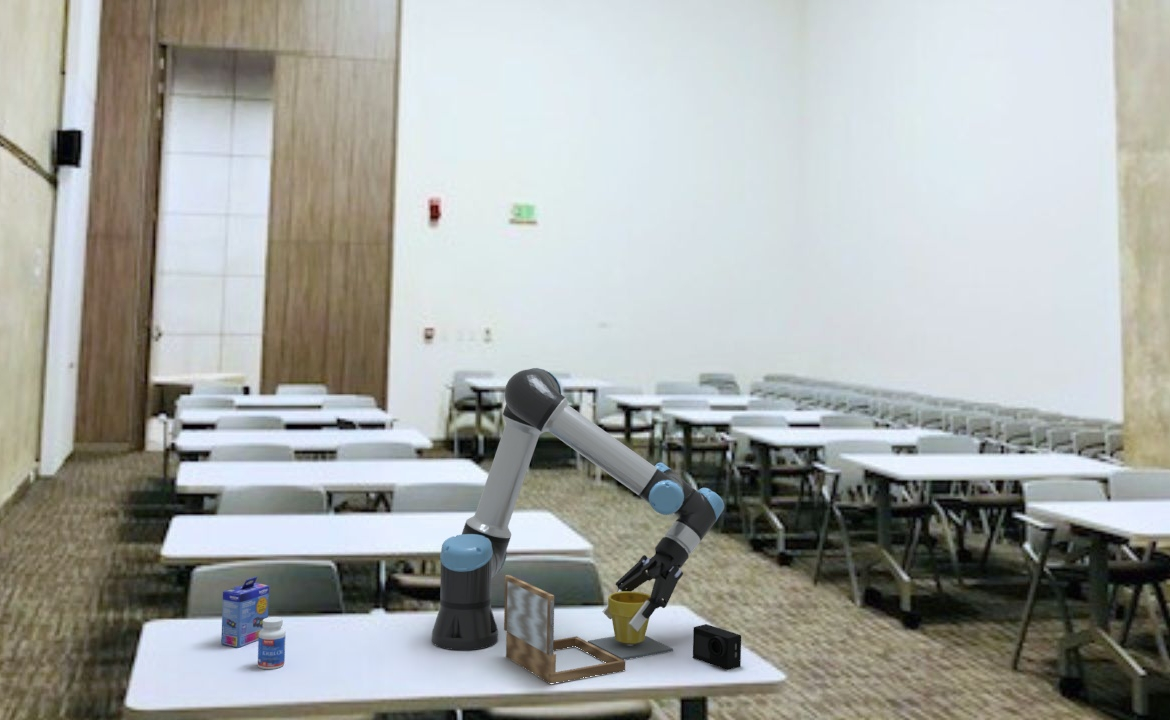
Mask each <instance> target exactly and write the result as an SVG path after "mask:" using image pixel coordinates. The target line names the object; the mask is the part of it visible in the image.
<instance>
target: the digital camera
mask: <svg viewBox="0 0 1170 720" xmlns="http://www.w3.org/2000/svg"><path fill="white" fill-rule="evenodd" d="M692 628H693V633H692V634H693V635H692V639H693V640H692V642H693V643H692V658H693V659H695V660H698V661H700V662H704V663H706V664H709V665H712V666H714V667H716V668H720V669H722V670H725V671H730V670H733V669H736V668H740V667H741V664H742V663H741V662H742V660H741V659H742V655H741V654H742V635H741V634H738V633H736V632H732V631H729V630H726V629H723V628H719V627H717V626H713V625H710V624H707V623H705V624H701V625H697V626H693V627H692Z"/></svg>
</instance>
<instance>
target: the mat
mask: <svg viewBox="0 0 1170 720" xmlns="http://www.w3.org/2000/svg"><path fill="white" fill-rule="evenodd" d="M587 642H589V643H591V644H593V645H594V646H596V647H598V648H600V649H602V650H604V651H606V652H608V653H610V654H612V655H614V656H616V657H618V658H620V659H622V660H624V659H627V660H631V659H630V658H633V659H637V658H636V657H638V658H642V657H643V656H644V657H648V656H649V657H650V656H654V655H659V654H660V655H661V654H665V653H670V652H673V651H674V648H673V647H671V646H669V645H666V644H665V643H662V642H660V641H657V640H656V639H653V638H651V637H649V636H647V635H645V638H644V641H642V642H640V643H635V644H628V643H622V642H619V641H617V640H616V639H615V635H613V636H609V637H602V638H595V639H590V640H589V639H588V640H587ZM624 661H625V660H624Z"/></svg>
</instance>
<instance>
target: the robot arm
mask: <svg viewBox="0 0 1170 720" xmlns="http://www.w3.org/2000/svg"><path fill="white" fill-rule="evenodd" d="M504 401H505V406H504V409H503V413H502V418H503V419H504V422H505V426H504V428H503V431H502V433H501V438H500V440H499V443H498V445H497V449H496V451H495V455H494V458H493V461H492V463H491V467H490V469H489V473H488V475H487V478H486V480H485V484H484V487H483V490H482V493H481V496H480V498H479V501H478V505H477V508H476V509H475V510H476V511H475V513H474V515H473V516H470V517H469V518H466V520H465V523H464V526H463V529H462V532H461V534H457V535H455V536H451V537H449V538H447V539H445V541H443V543H442V544H441V549H440V554H439V555H440V556H439V557H440V559H439V560H440V588H439V589H440V593H439V595H440V596H439V597H440V598H439V599H440V600H439V602H440V603H439V604H440V606H439V610H438V614H437V616H436V618H435V621H434V624H433V628H432V632H431V642H432V644H433V645H435V646H436V647H439V648H443V649H448V650H455V651H458V650H460V651H467V650H468V651H470V650H471V651H472V650H479V649H485V648H488V647H491V646H493V645H495V644H496V643H498V641H499V630H498V626H497V623H496V619H495V616H494V613H493V609H492V579H493V578H494V577H495V576H496V575H497V574H498V573H499V572H500V571H501V569H502V568H503V566H504V564H505V563H506V560H507V554H508V552H507V550H508V547H509V544H510V541H511V538H512V532H511V531H510V528H509V525H510V521H511V519H512V515H513V514H514V510H515V507H516V504H517V502H518V499H519V495H520V492H521V489H522V487H523V483H524V481H525V478H526V475H527V472H528V469H529V466H530V463H531V460H532V458H533V455H534V452H535V449H536V446H537V443H538V440H539V437H540V436H541V435H542V434H543V433H547V432H548V433H550V434H551V435H553V436H554V437H555V438H557V439H559V441H562V442H563V443H564V444H565V445H566V446H568V447H569V448H571V449H572V450H574V451H575V452H576V453H578V454H580V455H581V456H582V457H583V458H585V459H586V460H588V461H589V462H591V463H592V464H593V465H595V466H596V467H598V468H599V469H601V470H602V471H604V472H605V473H606V474H608V475H609V476H610V477H612V478H614V479H615V480H616V481H618V482H619V483H621V484H622V485H623V486H625V487H626V488H628V489H630V490H631V492H632V493H634V494H636V495H637V496H639V497H640V498H641V499H643V500H644V501H645V502H646V503H648V504H649V505H650V506H651V508H652V509H653V510H654V511H655V512H656V513H658V514H660V515H664V516H667V515H672V514H675V515H676V516H677V517H678V518H677V519H676V520H675V521H674V522H673V523H672V524H671V526H670V528H669V529H668V530H667V531H666V532H665V536H664V537H661V539H660V541H659V542H658V543H657V544H656V545H655V548H654V551H655V554H654V555H653V556H651V557H650V558H649V557H648V556H647V555H645V554H644V555H642V556H641V558H640V559H639V560H638V562H636V563H635V564H634V566H632V567H631V568H630V569H629V570H628V571H627V572H626V573H624V575H622V576H621V577H620V578H619V579H618V580H617V581H616V582H615V586H616V588H617V591H616V592H625V591H631V592H634V590H636V589H637V588H638V587H641V585H643V584H644V583H645V582H647V581H652V580H653V579H654V583H653V586H652V590H651V593H650V595H651V597H650V598H648V600H649V601H650V603H649V601H647V600H646V601H645V603H644V604H643V605H642V607H641V608H640V609H639V610H638V612H637V613H636V614H635V616H634V617H633V618H632V620H631V621H630V622H629V624H630V625H631V626H632V627H633V629H634V630H635V631H637V632H638V631H639V629H640V628H641V627H642V625H643V624H644V623H645V621H646V620H647V619H648V618H649V617H651V615H653V613H654V612H655V611H656V609H657V610H658V609H659V608H662V609H665V608H666V607H667V605H668V603H669V601H670V598H671V597H672V595H673V593H674V590H675V588H676V586H677V584H678V582H679V580H680V579H681V578H682V576H683V575H684V572H683V571H682V570H681V568H682V567H683V566H684V564H685V563H686V562H687V561H688V559H689V555H692V553H693V552H694V550H695V549H696V548H697V546H698V545H699V544H700V542H701V541H703V538H705V536H706V535H707V534H708V532H709V531H710V530H711V528H712V527H713V526H714V524H715V523H716V522H717V521H718V519H719V517H720V516H721V514H722V513H723V511H724V510H725V502H724V501H723V499H722V498H721V496H720V495H719V494H717V492H715V491H712V490H711V488H707V487H702V488H699V489H698V490H696V489H695V488H693V487H692V486H691V485H690V484H689V483H687V482H686V481H685V479H683V478H682V477H680V476H679V475H678V474H677V473H676V472H675V471H673V469H672V468H670V467H669V466H667V465H666V464H665V463H663V462H657V463H656V464H655V465H653V464H652V463H650V462H649V461H648V460H646V459H645V458H643V457H642V456H641V455H639V454H638V453H636V452H635V451H633V449H630V448H629V447H628V446H627V445H625V444H624V443H622V442H621V441H620V440H618V439H617V438H615V437H614V436H612V435H611V434H610V433H608V432H607V431H605V430H604V429H602V428H601V427H600V426H598V425H597V424H595V422H593V421H591V420H590V419H589V418H587V417H586V416H584V415H583V414H581V413H580V412H579V411H577V410H576V409H574V407H572V406H570V405H569V404H568V399H567V397H565V395H562V389H561V385H560V383H559V381H558V379H557V377H555V375H554V374H552V373H551V372H550V371H548V370H545V369H543V368H539V367H533V368H528V369H523V370H520V371H518V372H516V373H514V374H513V375H512V376H511V377H510V378H509V379H508V381H507V383H506V384H505V388H504ZM602 613H603V614H604V616H606V617H607V618H608V619H609V620H612V616H611V613H610V612H609V611H608V604H607V605H606V606H605V607H604V608H603V609H602ZM649 619H650V618H649Z"/></svg>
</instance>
